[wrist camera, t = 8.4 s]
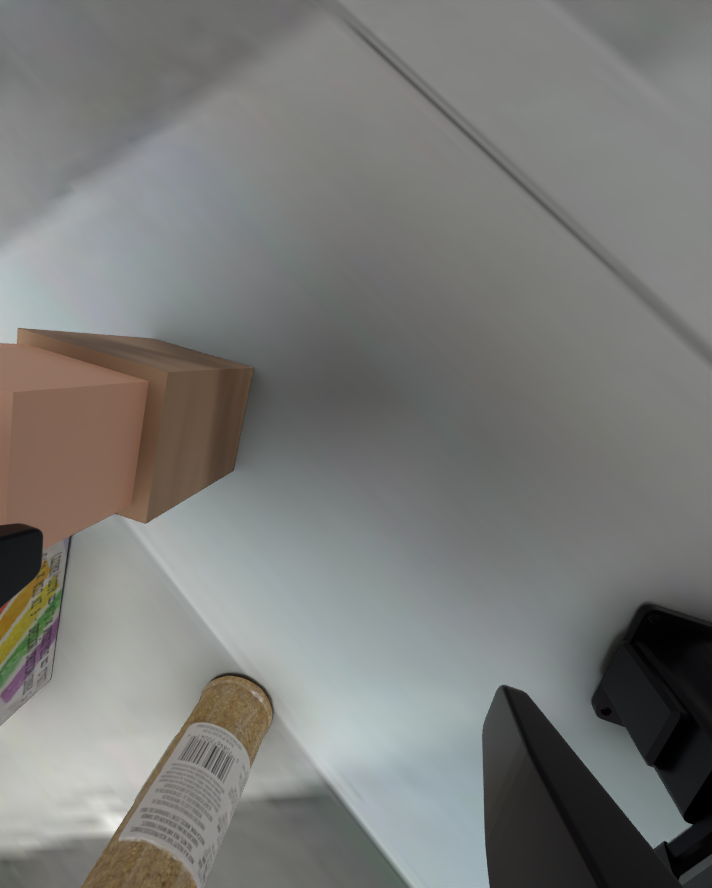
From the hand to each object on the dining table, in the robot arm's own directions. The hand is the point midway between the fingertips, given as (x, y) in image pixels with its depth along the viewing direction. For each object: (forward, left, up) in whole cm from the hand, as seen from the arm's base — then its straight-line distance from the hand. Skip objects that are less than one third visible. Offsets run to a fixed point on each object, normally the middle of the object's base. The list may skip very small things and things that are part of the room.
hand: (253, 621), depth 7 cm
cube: (+9, 0, -6) cm, 11 cm away
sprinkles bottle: (+3, +17, -13) cm, 21 cm away
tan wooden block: (+9, 0, -13) cm, 16 cm away
